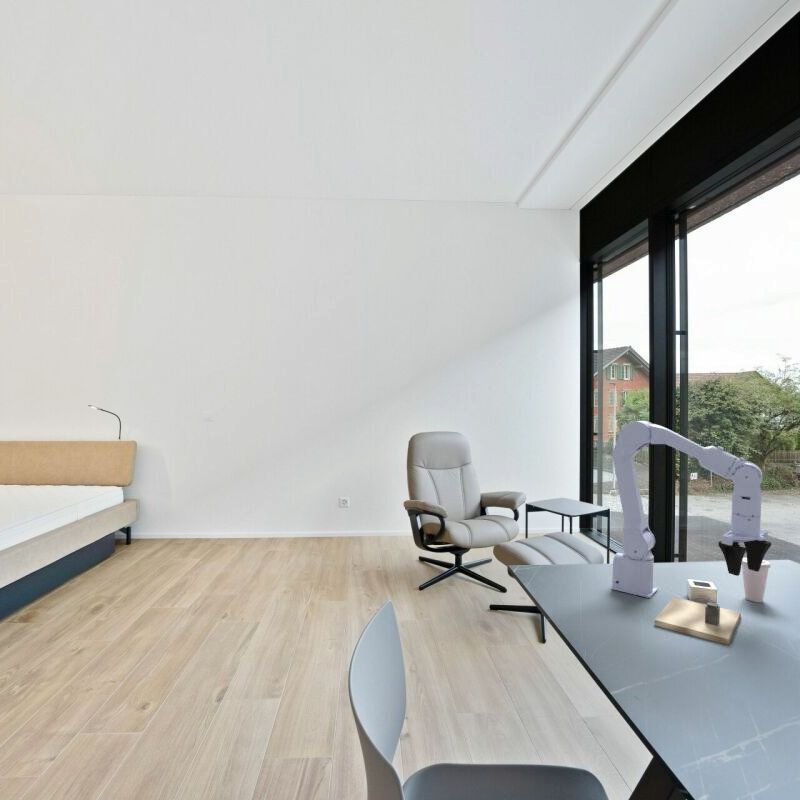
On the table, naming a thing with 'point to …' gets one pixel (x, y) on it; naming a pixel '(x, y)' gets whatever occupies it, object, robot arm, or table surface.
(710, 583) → the steel collar
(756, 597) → the smoothie
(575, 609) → the table surface
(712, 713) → the table surface
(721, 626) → the post board
